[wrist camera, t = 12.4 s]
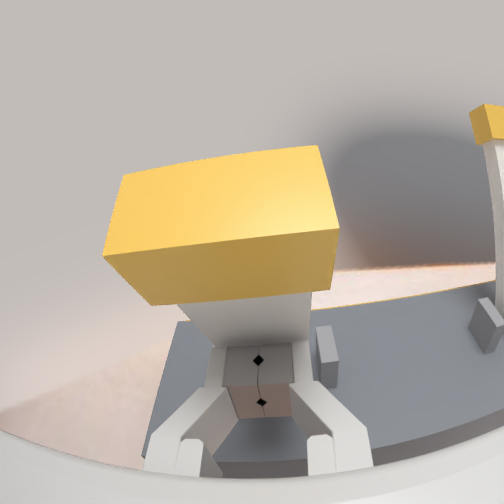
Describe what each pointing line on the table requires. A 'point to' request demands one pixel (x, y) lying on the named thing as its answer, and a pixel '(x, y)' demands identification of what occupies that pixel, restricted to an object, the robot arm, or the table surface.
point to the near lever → (230, 242)
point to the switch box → (369, 379)
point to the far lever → (494, 179)
